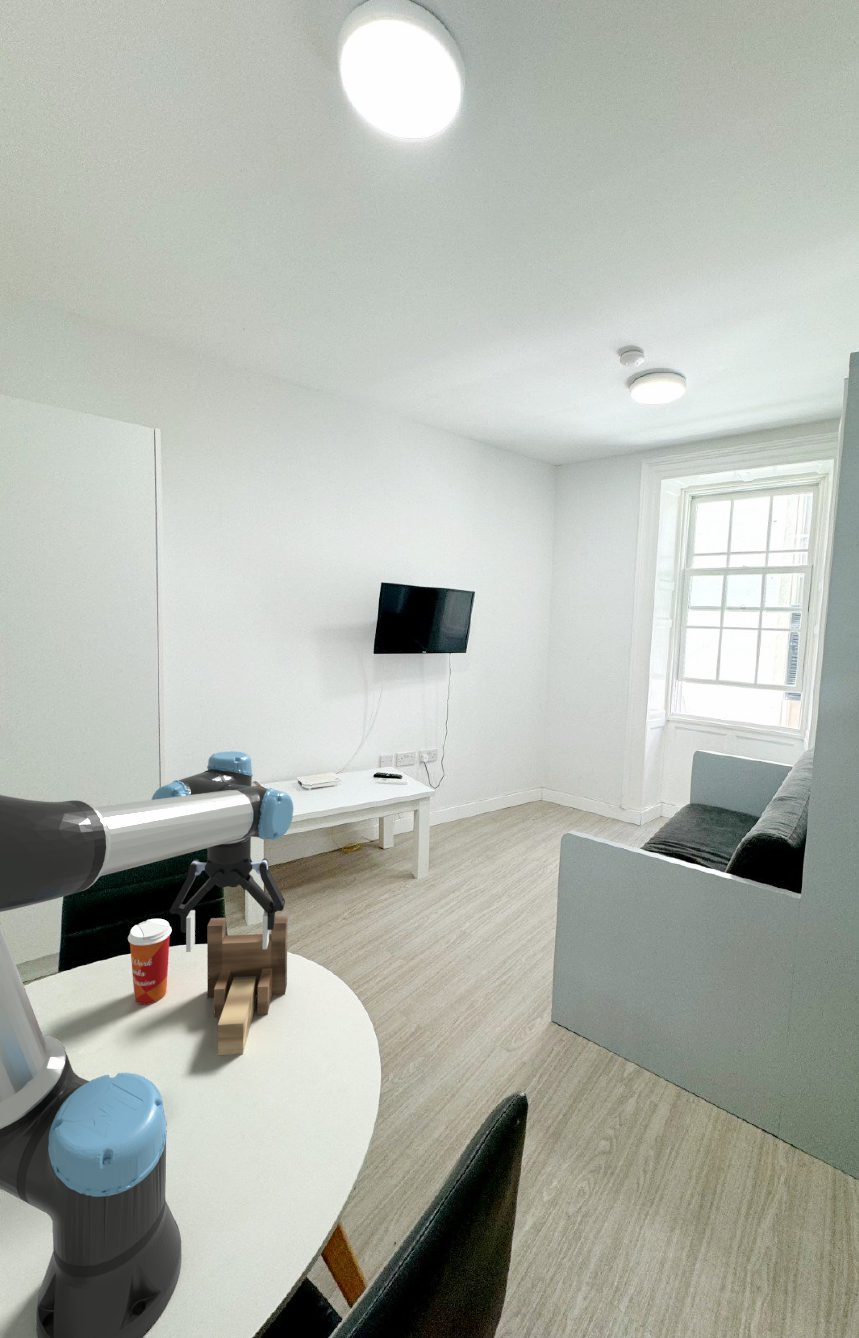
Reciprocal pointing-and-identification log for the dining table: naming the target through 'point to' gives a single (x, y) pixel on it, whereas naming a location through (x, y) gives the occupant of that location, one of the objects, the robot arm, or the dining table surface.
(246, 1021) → the tan wooden block
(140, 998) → the coffee cup
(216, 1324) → the dining table surface
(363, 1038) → the dining table surface
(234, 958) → the brown notched piece
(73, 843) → the robot arm
